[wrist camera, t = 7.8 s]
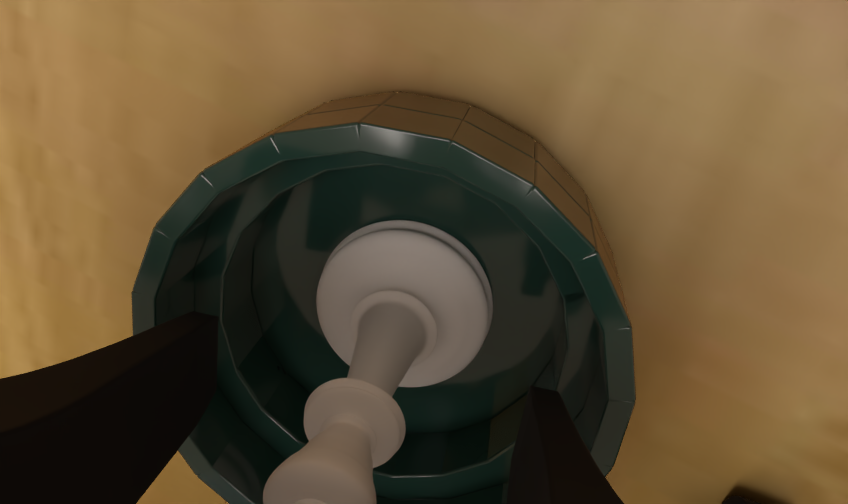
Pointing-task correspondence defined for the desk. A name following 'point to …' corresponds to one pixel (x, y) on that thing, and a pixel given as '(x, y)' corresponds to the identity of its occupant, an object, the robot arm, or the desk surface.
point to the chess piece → (382, 352)
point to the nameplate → (738, 500)
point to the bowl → (361, 206)
